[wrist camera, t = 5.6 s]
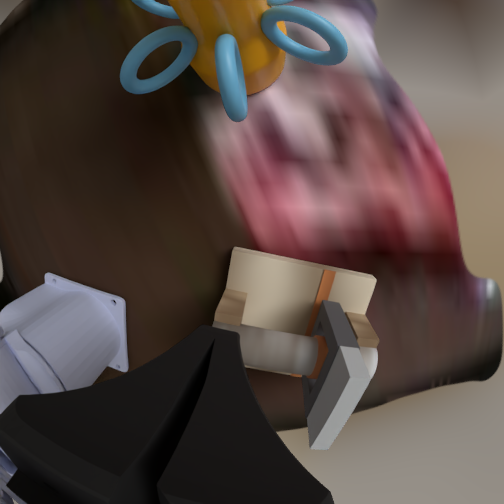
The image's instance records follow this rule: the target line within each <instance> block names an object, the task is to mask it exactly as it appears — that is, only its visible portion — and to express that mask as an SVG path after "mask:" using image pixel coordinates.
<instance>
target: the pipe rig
mask: <svg viewBox="0 0 504 504" xmlns="http://www.w3.org/2000/svg"><path fill="white" fill-rule="evenodd" d="M376 281H377V280H376V278H375V277H374V276H373V275H369V274H365V273H360V272H355V271H350V270H345V269H341V268H336V267H331V266H326V265H321V264H317V263H312V262H307V261H302V260H297V259H292V258H288V257H283V256H278V255H273V254H268V253H263V252H259V251H254V250H249V249H244V248H239V247H234V249H233V250H232V256H231V262H230V267H229V273H228V279H227V285H226V289H225V291H224V294H223V296H222V298H221V300H220V303H219V305H218V307H217V309H216V312H215V318H214V322H213V325H212V327H216V328H221V329H225V330H230V331H234V332H238V333H239V335H240V347H241V353H242V358H243V362H244V365H245V367H247V368H253V369H258V370H263V371H269V372H275V373H281V374H287V375H291V376H295V377H302V375H306V377H307V378H311V379H317V378H318V375H319V373H320V370H321V368H322V366H323V363H324V361H325V358H326V356H327V353H328V351H329V350H328V347H327V343H326V339H325V336H319V335H315V336H314V337H310V336H311V333H312V330H313V327H314V324H315V321H316V318H317V315H318V312H319V309H320V306H321V302H322V300H327V301H333V302H338V303H340V305H341V307H342V309H343V311H344V314H345V316H346V318H347V320H348V322H349V324H350V327H351V329H352V331H353V333H354V336H355V338H356V340H357V342H358V345H359V347H360V350H359V351H360V353H361V355H362V358H363V360H364V363H365V365H366V367H367V370H368V372H369V375H370V377H371V378H372V377H373V375H374V373H375V371H376V367H377V362H378V353H377V349H376V347H377V345H378V343H379V338H378V337H377V335H376V333H375V331H374V330H373V328H372V326H371V324H370V323H369V321H368V319H367V318H366V316H365V312H366V310H367V307H368V304H369V301H370V299H371V296H372V293H373V290H374V287H375V284H376Z"/></svg>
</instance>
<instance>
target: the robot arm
mask: <svg viewBox="0 0 504 504" xmlns="http://www.w3.org/2000/svg"><path fill="white" fill-rule="evenodd" d="M55 280H56V281H55ZM113 300H115V302H116V303H114V301H113ZM107 366H109V367H112V368H114V369H117V370H119V371H122V372H127V370H128V355H127V337H126V304H125V301H124V299H123V298H121V297H118V296H115V295H112V294H109V293H106V292H103V291H100V290H97V289H94V288H91V287H88V286H85V285H82V284H79V283H76V282H73V281H71V280H68V279H65V278H62V277H60V276H57V275H54V274H52V273H46V274H45V283H44V284H43V285H41V286H39V287H37V288H36V289H34V290H32V291H30V292H29V293H27V294H25V295H23V296H22V297H20V298H18V299H16V300H15V301H13V302H11V303H10V304H8V305H7V306H6V307H5V308H4V309H3V310H2V311H1V312H0V504H14V502H13V500H12V498H13V499H14V500H15V501H16V502H17V503H19V504H334V501H333V498H332V495H331V492H330V491H329V490H328V489H327V488H326V487H324V486H323V485H322V484H321V483H320V482H319V481H318V480H317V479H315V478H314V477H313V476H312V475H311V474H310V473H309V472H308V471H307V470H306V469H305V468H304V467H303V466H302V464H301V463H300V462H299V461H298V460H297V459H296V458H295V456H294V455H293V454H292V453H291V452H290V451H289V449H288V448H287V447H286V446H285V444H284V443H283V441H282V440H281V439H280V437H279V436H278V434H277V433H276V432H275V430H274V429H273V427H272V426H271V424H270V422H269V421H268V419H267V417H266V416H265V414H264V412H263V410H262V408H261V406H260V404H259V402H258V400H257V398H256V396H255V394H254V391H253V389H252V386H251V384H250V381H249V378H248V375H247V372H246V369H245V365H244V362H243V358H242V353H241V347H240V335H239V333H238V332H234V331H230V330H225V329H221V328H216V327H212V326H208V325H204V324H203V325H201V326H199V327H198V328H197V329H196V330H194V331H193V332H192V333H191V334H189V335H188V336H187V337H186V338H184V339H183V340H182V341H180V342H179V343H178V344H176V345H175V346H173V347H172V348H171V349H169V350H168V351H166V352H165V353H163V354H161V355H160V356H158V357H157V358H155V359H153V360H152V361H150V362H148V363H146V364H145V365H143V366H141V367H139V368H137V369H135V370H133V371H130V372H128V373H126V374H124V375H121V376H119V377H116V378H113V379H110V380H107V381H104V382H101V383H98V384H95V385H92V384H93V383H94V382H95V380H96V379H97V378H98V377H99V375H100V374H101V373H102V372H103V370H104V369H105V368H106V367H107Z"/></svg>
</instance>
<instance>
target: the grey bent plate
mask: <svg viewBox="0 0 504 504" xmlns="http://www.w3.org/2000/svg"><path fill="white" fill-rule="evenodd" d="M315 335H319V336H325V339H326V343H327V347H328V350H329V351H328V353H327V356H326V358H325V361H324V363H323V366H322V368H321V370H320V373H319V375H318V378H317V379H311V378H307V377H306V375H302V384H303V394H304V405H305V417H306V418H307V421H308V433H309V445H310V449H320V450H328V448H329V447H330V446H331V444H332V443H333V441H334V440H335V438H336V437H337V435H338V434H339V432H340V431H341V429H342V428H343V426H344V424H345V423H346V421H347V420H348V418H349V417H350V415H351V413H352V412H353V410H354V408H355V407H356V405H357V403H358V402H359V400H360V398H361V396H362V395H363V393H364V391H365V389H366V387H367V386H368V384H369V382H370V380H371V377H370V375H369V372H368V370H367V367H366V365H365V363H364V360H363V358H362V355H361V353H360V351H359V350H360V347H359V345H358V342H357V340H356V338H355V336H354V333H353V331H352V329H351V327H350V324H349V322H348V320H347V318H346V316H345V314H344V311H343V309H342V307H341V305H340V303H338V302H333V301H327V300H322V302H321V306H320V309H319V312H318V315H317V318H316V321H315V324H314V327H313V330H312V333H311V336H310V337H314V336H315Z"/></svg>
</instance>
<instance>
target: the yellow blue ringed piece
mask: <svg viewBox="0 0 504 504" xmlns="http://www.w3.org/2000/svg"><path fill="white" fill-rule="evenodd" d="M132 1H133V2H134V3H135V4H136V5H138V6H139V7H141V8H143V9H144V10H146V11H148V12H151V13H153V14H156V15H159V16H162V17H167V18H173V19H180V20H181V21H182V23H183V24H184V26H169V27H165V28H162V29H159V30H157V31H155V32H153V33H151V34H149V35H148V36H146V37H145V38H143V39H142V40H141V41H140V42H139V43H138V44H136V45H135V46H134V48H133V49H132V50H131V51H130V52H129V54H128V55H127V57H126V58H125V60H124V62H123V65H122V67H121V71H120V81H121V84H122V86H123V87H124V89H125V90H127V91H128V92H130V93H133V94H145V93H149V92H152V91H155V90H157V89H159V88H161V87H163V86H165V85H166V84H168V83H169V82H171V81H172V80H174V79H175V78H176V77H177V76H178V75H180V74H181V73H182V72H183V71H184V70H185V69H186V67H187V66H188V65H189V64H190V65H191V66H192V68H193V69H194V70H195V71H196V73H197V74H198V75H199V76H200V77H201V79H202V80H203V81H204V82H205V83H206V84H207V85H208V86H209V87H210V88H212V89H213V90H215V91H217V92H219V93H220V94H221V98H222V101H223V105H224V108H225V110H226V113H227V115H228V117H229V118H230V119H231V120H232V121H235V122H240V121H243V120H244V119H245V118H246V116H247V95H250V94H254V93H257V92H260V91H262V90H264V89H266V88H267V87H269V86H270V85H271V84H273V83H274V82H275V81H276V80H277V78H278V77H279V76H280V74H281V72H282V70H283V68H284V64H285V56H286V52H287V53H289V54H291V55H293V56H295V57H297V58H299V59H301V60H304V61H307V62H310V63H314V64H318V65H336V64H339V63H341V62H342V61H343V60H344V59H345V58H346V56H347V53H348V47H347V43H346V41H345V39H344V37H343V35H342V34H341V33H340V31H339V30H338V29H337V28H336V27H335V26H334V25H333V24H331V23H330V22H329V21H327V20H326V19H325V18H323V17H321V16H320V15H318V14H316V13H314V12H311V11H309V10H306V9H303V8H299V7H295V6H277V5H283V4H286V3H289V2H291V1H293V0H168V2H169V3H170V5H171V6H172V7H170V6H166V5H163V4H160V3H158V2H155V1H153V0H132ZM271 6H275V7H271ZM284 21H290V22H294V23H298V24H301V25H303V26H305V27H308V28H310V29H311V30H313V31H315V32H316V33H318V34H319V35H320V36H321V37H322V38H324V39H325V41H326V42H327V43H328V44H329V46H330V51H317V50H313V49H310V48H307V47H305V46H302V45H300V44H298V43H296V42H295V41H293V40H291V39H290V38H289V37H287V32H286V26H285V23H284ZM170 41H181V47H182V50H181V52H180V54H179V56H178V57H177V58H176V60H175V61H174V62H173V63H172V64H171V65H170V66H169V67H168V68H167V69H165V70H164V71H163V72H161V73H160V74H158V75H156V76H154V77H152V78H149V79H145V80H139V79H137V76H136V74H137V70H138V68H139V66H140V64H141V63H142V61H143V60H144V59H145V58H146V57H147V55H149V54H150V53H151V52H152V51H153V50H154V49H156V48H157V47H159V46H161V45H163V44H165V43H167V42H170Z"/></svg>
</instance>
